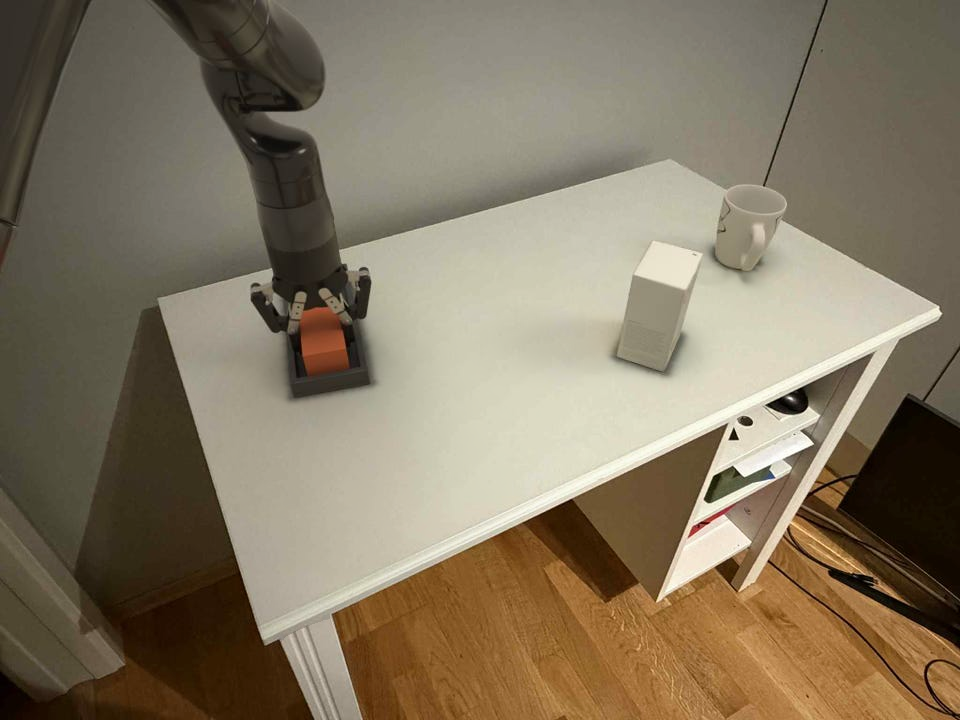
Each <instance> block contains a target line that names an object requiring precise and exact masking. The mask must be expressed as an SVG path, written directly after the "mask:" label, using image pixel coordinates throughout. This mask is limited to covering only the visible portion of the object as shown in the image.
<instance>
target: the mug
mask: <svg viewBox="0 0 960 720" xmlns="http://www.w3.org/2000/svg"><path fill="white" fill-rule="evenodd" d="M787 205H788V204H787V200H786V198H785V197H784V196H783V195H782V194H781V193H779V192H778V191H776V190H774V189H772V188H770V187H766V186H763V185H759V184H758V185H757V184H747V183H746V184H745V183H744V184H736V185H734V186H731V187H729V188H728V189H727V190H726V191H725V192H724V195H723V198H722V203H721V207H720V212H719V216H718V221H717V227H716V239H715V248H714V255H715V257H716V260H717V261H718V262H720V264H722V265H724V266H726V267H728V268H732V269H736V270H742V271H744V272H750V271H752V270H753V269H754V268H755V266H756V265H757V264H758V263H759V261H760V259H761V258H762V256H763V255H764V254H765V252H766V250H767V248H768V246H769V245H770V243H771V241H772V239H773V238H774V236H775V234H776V232H777V230H778V227H779V226H780V223H781V221H782V219H783V217H784V214H785V212H786V210H787Z"/></svg>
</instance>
